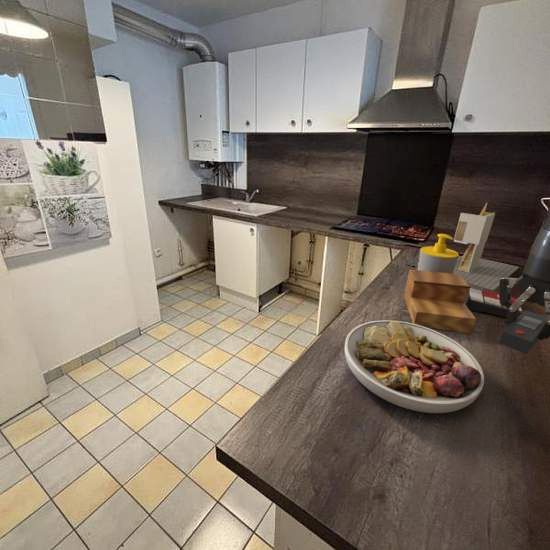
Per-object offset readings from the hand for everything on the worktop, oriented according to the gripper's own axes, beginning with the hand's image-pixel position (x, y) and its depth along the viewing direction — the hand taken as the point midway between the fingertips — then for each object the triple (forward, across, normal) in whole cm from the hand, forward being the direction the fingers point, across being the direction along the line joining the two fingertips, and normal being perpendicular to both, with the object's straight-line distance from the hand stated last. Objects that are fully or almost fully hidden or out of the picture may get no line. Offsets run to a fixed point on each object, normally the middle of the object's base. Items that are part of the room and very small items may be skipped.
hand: (525, 332), depth 60 cm
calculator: (+16, +16, -40) cm, 46 cm away
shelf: (+15, +26, -21) cm, 37 cm away
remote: (+1, 0, 0) cm, 1 cm away
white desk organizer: (+16, +40, -76) cm, 88 cm away
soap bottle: (+16, +38, -41) cm, 58 cm away
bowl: (+15, +16, +12) cm, 26 cm away
